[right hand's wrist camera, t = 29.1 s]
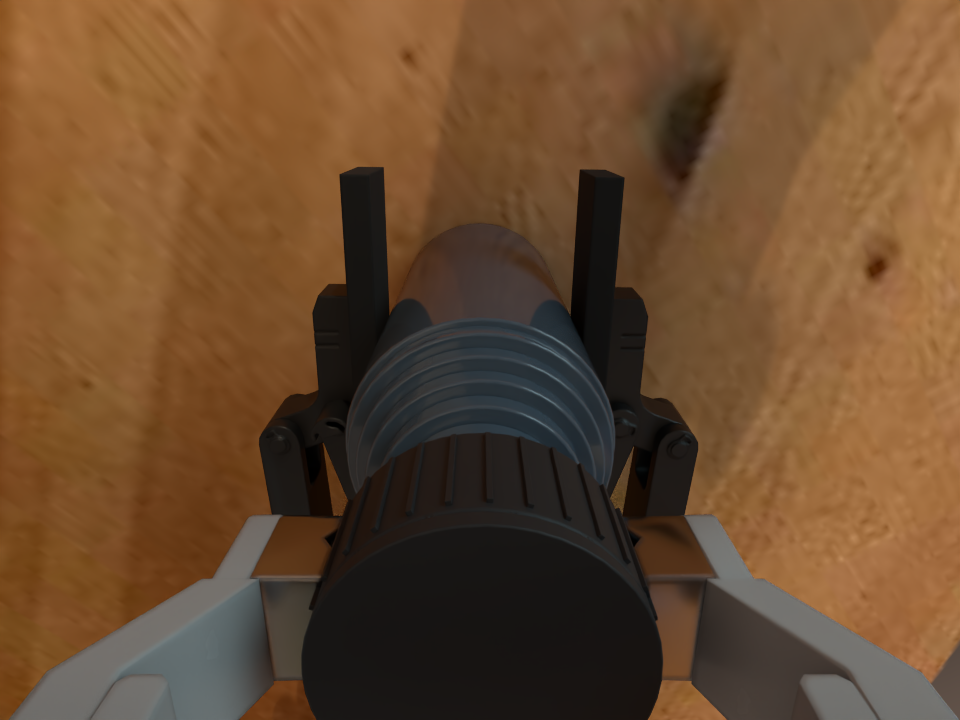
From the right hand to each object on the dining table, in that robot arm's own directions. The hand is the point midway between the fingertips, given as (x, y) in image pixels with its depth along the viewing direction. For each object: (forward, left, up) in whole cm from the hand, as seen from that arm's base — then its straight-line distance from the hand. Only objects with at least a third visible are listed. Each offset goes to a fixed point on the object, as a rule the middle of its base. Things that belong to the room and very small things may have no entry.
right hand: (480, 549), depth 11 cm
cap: (0, 0, +2) cm, 2 cm away
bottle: (0, 0, -16) cm, 16 cm away
